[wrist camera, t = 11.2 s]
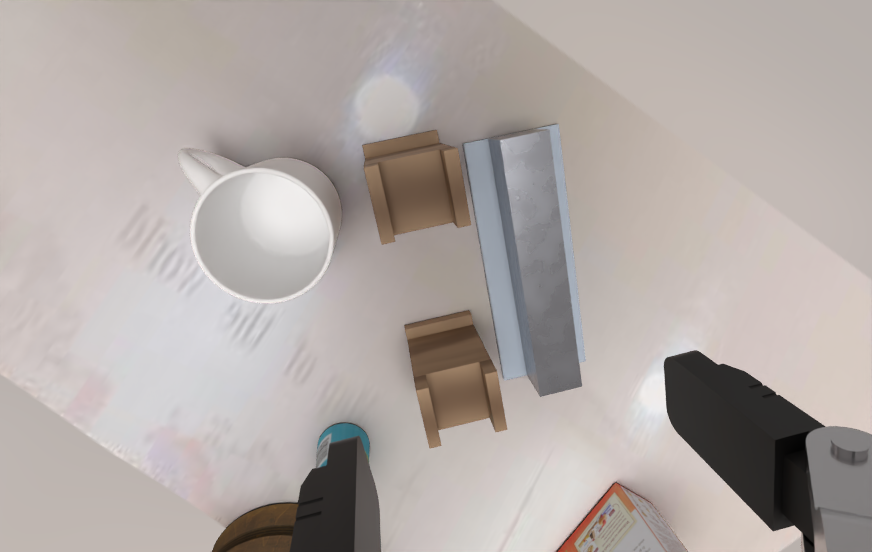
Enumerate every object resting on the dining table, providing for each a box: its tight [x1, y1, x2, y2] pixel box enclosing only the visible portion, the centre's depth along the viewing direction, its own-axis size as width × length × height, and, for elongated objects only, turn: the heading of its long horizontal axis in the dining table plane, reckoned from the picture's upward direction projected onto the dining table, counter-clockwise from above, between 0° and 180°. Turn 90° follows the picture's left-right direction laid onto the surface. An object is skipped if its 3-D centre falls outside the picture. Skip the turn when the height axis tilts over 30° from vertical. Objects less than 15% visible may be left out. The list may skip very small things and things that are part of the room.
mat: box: [463, 124, 586, 380], centre depth 45 cm, size 22×8×1 cm, turn 11°
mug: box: [178, 148, 342, 304], centre depth 36 cm, size 9×12×11 cm
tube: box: [316, 423, 370, 468], centre depth 39 cm, size 7×5×19 cm, turn 176°
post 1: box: [362, 130, 471, 244], centre depth 37 cm, size 7×6×10 cm
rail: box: [488, 129, 582, 397], centre depth 43 cm, size 22×4×4 cm, turn 11°
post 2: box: [404, 311, 507, 448], centre depth 42 cm, size 7×6×10 cm
